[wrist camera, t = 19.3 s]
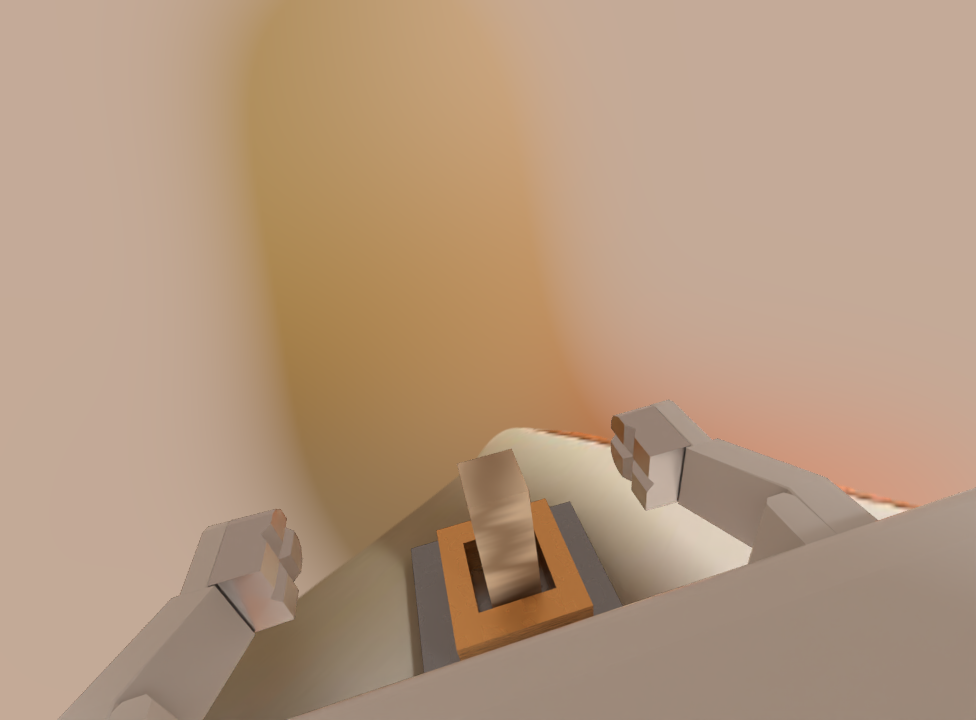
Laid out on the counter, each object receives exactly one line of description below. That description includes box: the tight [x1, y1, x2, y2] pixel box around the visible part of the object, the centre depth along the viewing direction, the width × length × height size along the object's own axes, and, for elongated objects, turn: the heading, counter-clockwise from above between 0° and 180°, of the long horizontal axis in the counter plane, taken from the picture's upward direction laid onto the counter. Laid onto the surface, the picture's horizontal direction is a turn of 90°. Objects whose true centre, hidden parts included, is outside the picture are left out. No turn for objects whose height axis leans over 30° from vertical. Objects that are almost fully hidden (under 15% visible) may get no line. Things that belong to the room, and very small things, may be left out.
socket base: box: [411, 499, 622, 673], centre depth 37 cm, size 16×14×6 cm
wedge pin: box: [457, 449, 542, 608], centre depth 34 cm, size 4×4×14 cm
